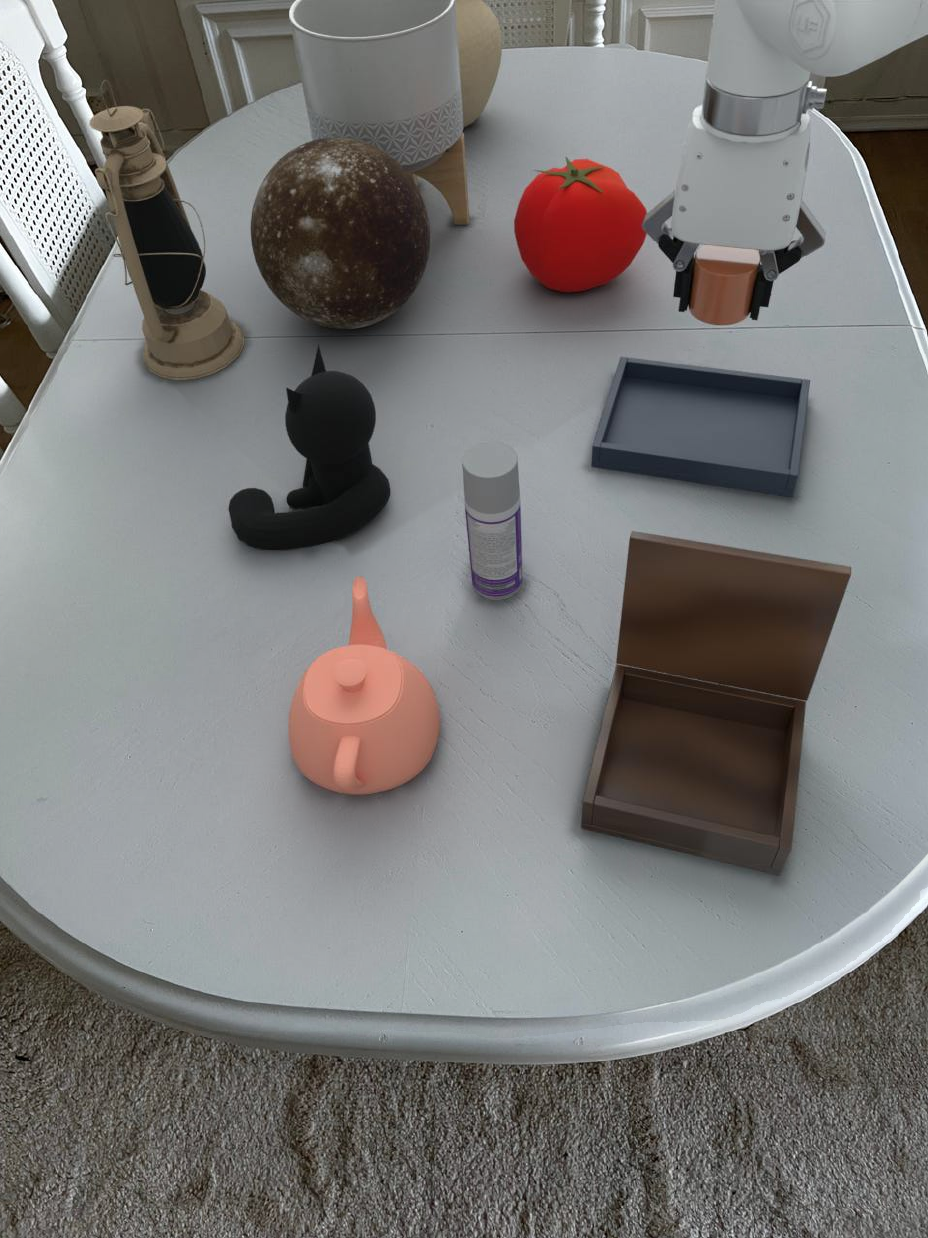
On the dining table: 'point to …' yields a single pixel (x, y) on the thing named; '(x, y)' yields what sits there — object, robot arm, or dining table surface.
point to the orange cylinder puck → (723, 284)
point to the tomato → (578, 226)
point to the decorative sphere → (340, 233)
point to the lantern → (161, 251)
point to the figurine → (320, 468)
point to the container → (493, 518)
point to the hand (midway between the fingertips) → (719, 305)
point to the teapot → (363, 712)
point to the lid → (728, 614)
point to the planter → (388, 83)
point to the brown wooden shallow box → (697, 768)
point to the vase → (477, 55)
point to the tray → (703, 425)
